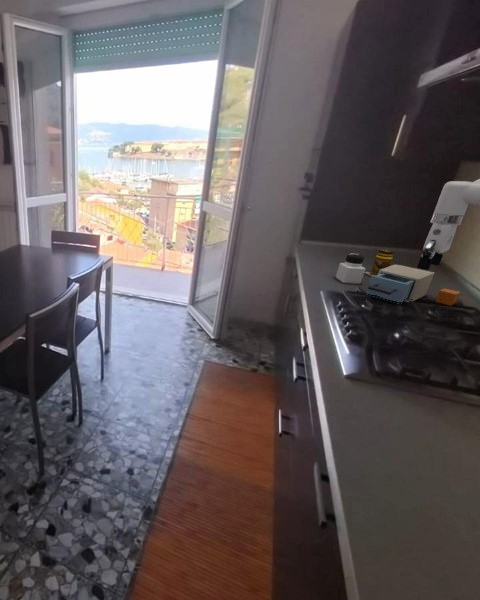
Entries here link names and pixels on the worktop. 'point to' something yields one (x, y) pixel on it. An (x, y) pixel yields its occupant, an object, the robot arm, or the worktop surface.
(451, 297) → the orange cube
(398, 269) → the small drawer box
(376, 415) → the worktop surface
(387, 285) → the blue drawer
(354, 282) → the medicine bottle
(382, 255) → the condiment
